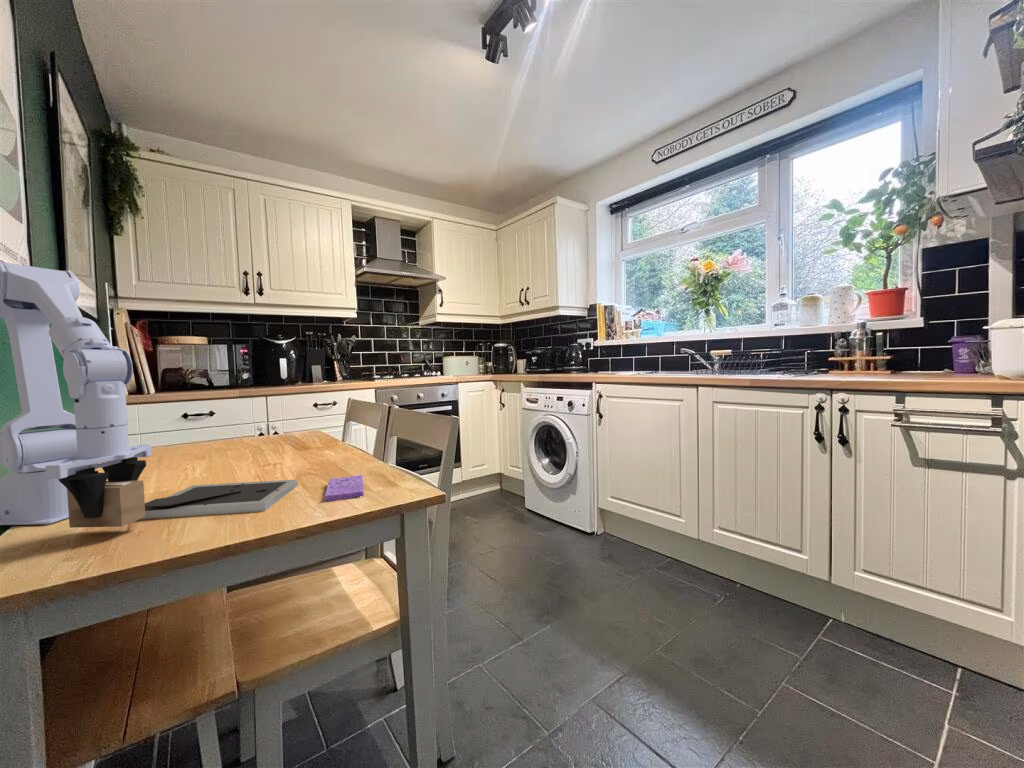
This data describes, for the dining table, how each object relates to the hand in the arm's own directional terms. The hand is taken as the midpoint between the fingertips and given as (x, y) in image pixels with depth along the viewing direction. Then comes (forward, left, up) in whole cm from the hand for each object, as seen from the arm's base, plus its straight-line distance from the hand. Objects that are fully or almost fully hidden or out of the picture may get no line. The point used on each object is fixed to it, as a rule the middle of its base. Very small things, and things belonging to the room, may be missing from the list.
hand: (108, 511), depth 64 cm
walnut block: (0, 0, -2) cm, 2 cm away
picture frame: (+8, +15, -4) cm, 18 cm away
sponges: (+29, +20, -4) cm, 36 cm away
